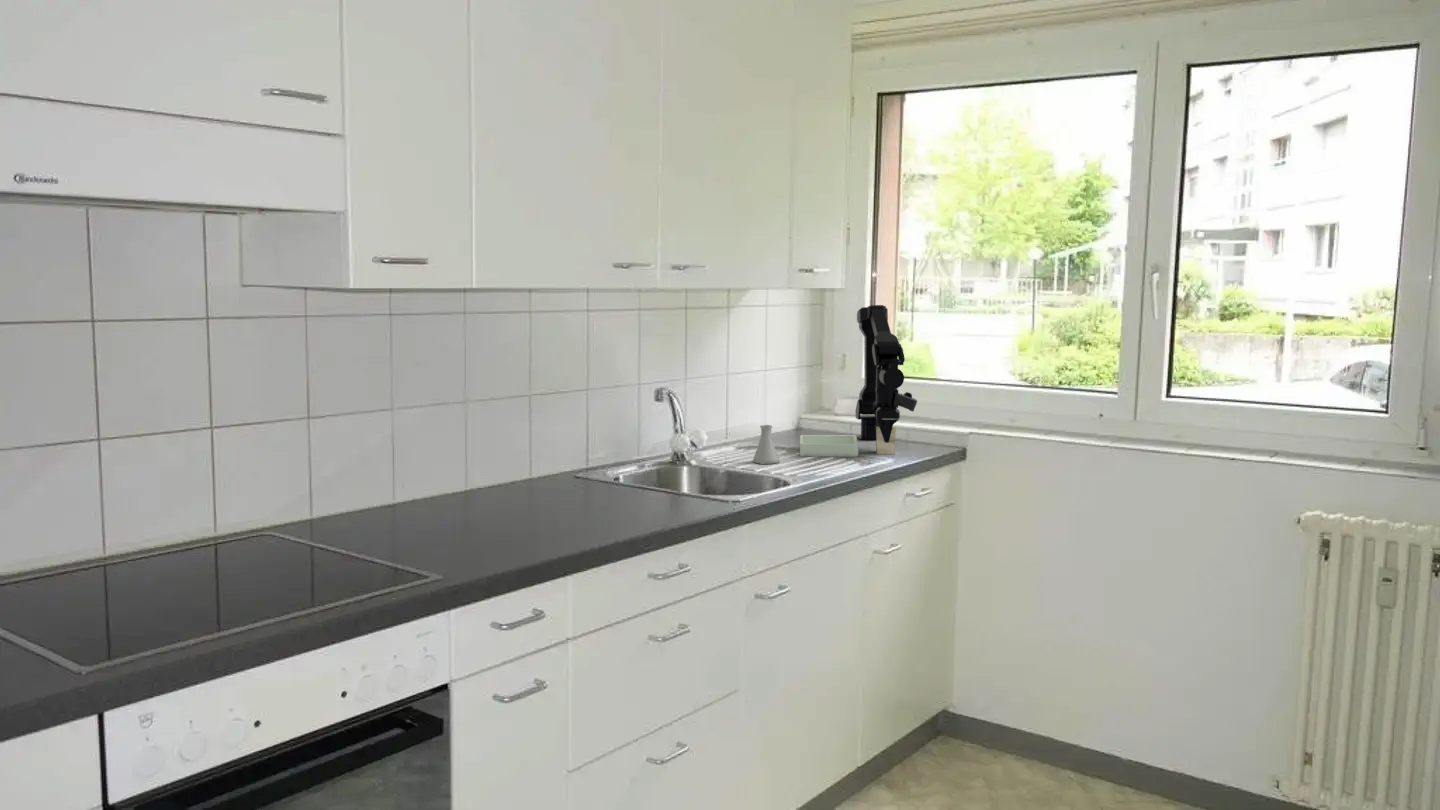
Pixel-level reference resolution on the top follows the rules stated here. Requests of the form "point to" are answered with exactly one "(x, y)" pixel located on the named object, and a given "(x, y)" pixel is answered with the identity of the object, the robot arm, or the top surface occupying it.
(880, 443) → the birch block
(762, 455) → the flask
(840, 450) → the sage bin
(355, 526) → the top surface
